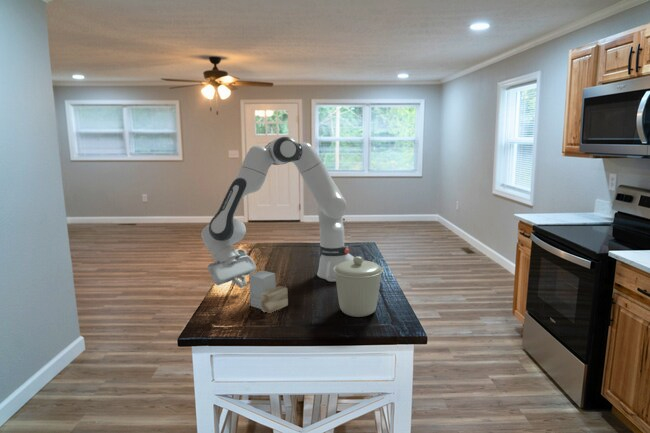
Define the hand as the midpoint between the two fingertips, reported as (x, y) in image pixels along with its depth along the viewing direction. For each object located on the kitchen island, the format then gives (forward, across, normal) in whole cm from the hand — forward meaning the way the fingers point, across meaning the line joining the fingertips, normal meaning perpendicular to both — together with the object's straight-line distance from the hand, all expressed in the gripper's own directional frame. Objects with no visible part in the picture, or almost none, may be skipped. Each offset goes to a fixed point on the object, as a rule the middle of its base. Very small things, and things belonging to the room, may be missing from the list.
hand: (243, 286), depth 171 cm
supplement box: (+12, 0, -4) cm, 12 cm away
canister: (+35, +16, -28) cm, 47 cm away
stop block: (+15, 0, -8) cm, 18 cm away
